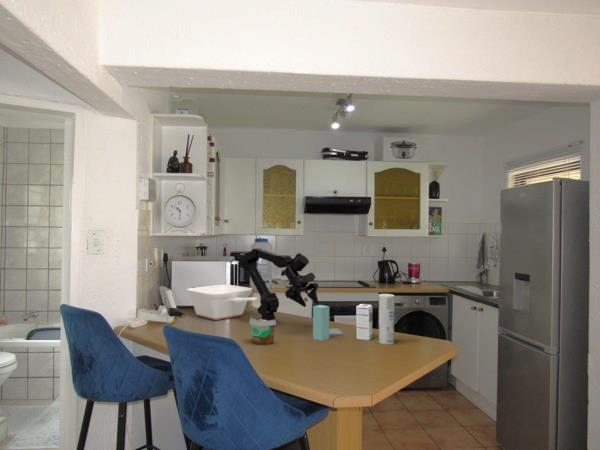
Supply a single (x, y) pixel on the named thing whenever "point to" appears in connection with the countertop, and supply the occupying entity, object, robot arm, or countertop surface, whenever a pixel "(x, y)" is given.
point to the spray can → (386, 318)
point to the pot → (220, 301)
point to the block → (321, 322)
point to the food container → (262, 331)
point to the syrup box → (364, 321)
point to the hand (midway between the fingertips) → (311, 305)
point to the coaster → (335, 332)
